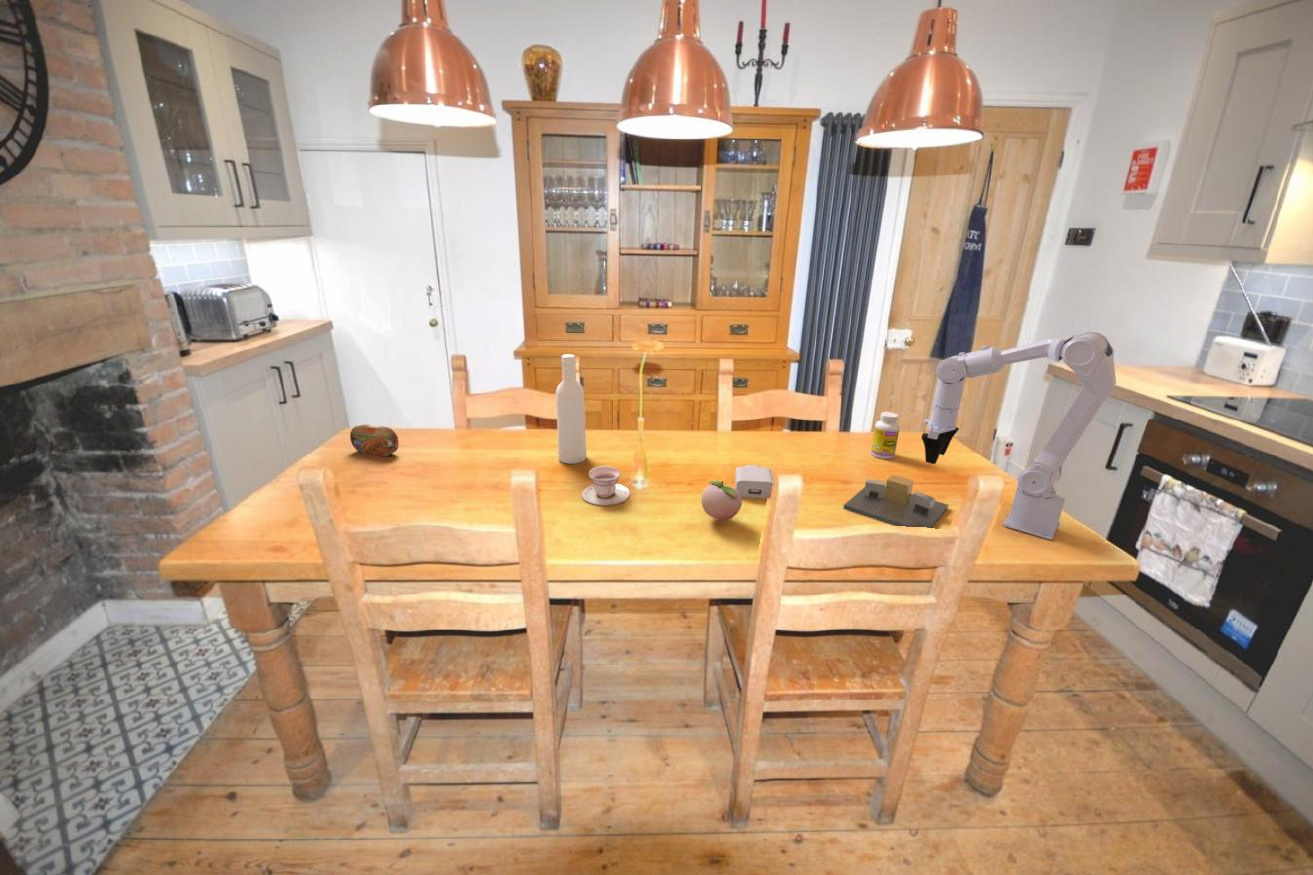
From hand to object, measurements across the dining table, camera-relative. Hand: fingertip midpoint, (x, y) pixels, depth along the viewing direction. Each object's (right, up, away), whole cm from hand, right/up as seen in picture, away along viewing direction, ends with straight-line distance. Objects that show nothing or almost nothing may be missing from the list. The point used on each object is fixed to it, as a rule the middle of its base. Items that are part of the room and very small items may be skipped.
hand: (935, 458), depth 141 cm
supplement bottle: (-2, 0, +27) cm, 27 cm away
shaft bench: (-12, -12, -4) cm, 17 cm away
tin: (-150, 0, +24) cm, 152 cm away
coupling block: (-10, -10, -1) cm, 14 cm away
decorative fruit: (-55, -14, -11) cm, 58 cm away
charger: (-44, -8, +7) cm, 45 cm away
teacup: (-82, -10, +1) cm, 82 cm away
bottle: (-93, -1, +22) cm, 96 cm away
